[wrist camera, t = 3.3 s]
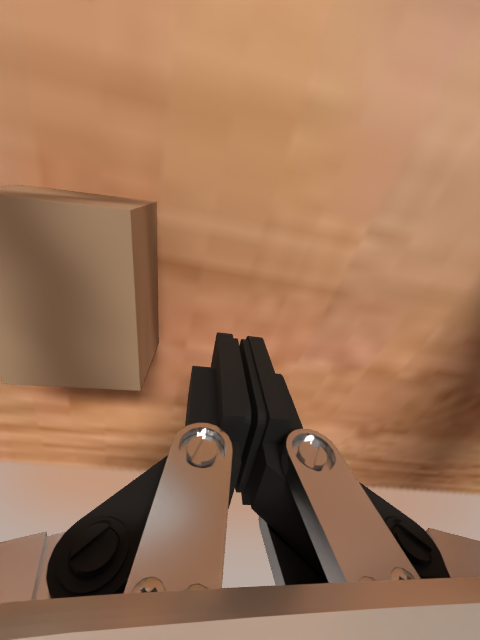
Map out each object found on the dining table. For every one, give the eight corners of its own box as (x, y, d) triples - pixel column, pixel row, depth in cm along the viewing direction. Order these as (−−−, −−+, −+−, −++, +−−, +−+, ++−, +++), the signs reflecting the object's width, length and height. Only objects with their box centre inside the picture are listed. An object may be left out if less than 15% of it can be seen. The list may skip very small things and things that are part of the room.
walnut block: (157, 201, 13) (130, 210, 9) (159, 341, 17) (140, 390, 13) (25, 185, 13) (-64, 187, 9) (55, 333, 16) (2, 383, 12)
